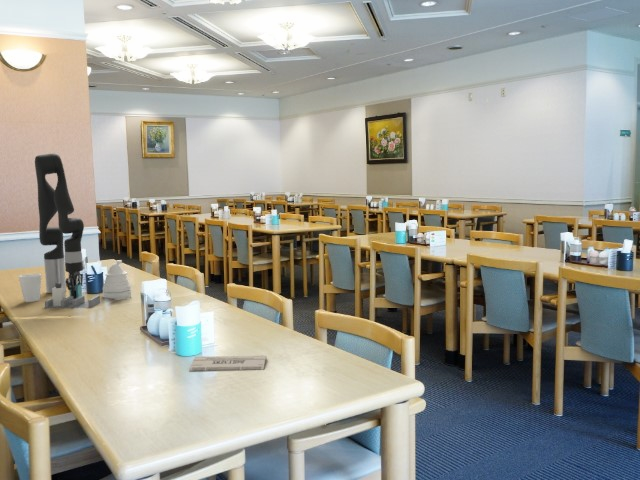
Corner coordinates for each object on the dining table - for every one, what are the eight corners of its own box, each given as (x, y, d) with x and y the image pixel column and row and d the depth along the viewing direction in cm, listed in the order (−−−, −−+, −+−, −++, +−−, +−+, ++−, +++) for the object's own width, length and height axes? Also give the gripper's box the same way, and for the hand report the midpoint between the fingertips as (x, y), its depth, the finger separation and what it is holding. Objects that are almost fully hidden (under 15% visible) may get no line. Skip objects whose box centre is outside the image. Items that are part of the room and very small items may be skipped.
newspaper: (266, 358, 181) (266, 351, 180) (264, 375, 169) (263, 367, 168) (194, 359, 180) (193, 352, 180) (186, 377, 168) (185, 369, 168)
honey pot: (135, 294, 284) (133, 258, 282) (124, 300, 271) (122, 262, 269) (110, 294, 285) (108, 258, 283) (98, 300, 272) (95, 262, 270)
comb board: (54, 304, 264) (53, 296, 263) (102, 303, 264) (102, 295, 264) (42, 310, 252) (41, 301, 251) (92, 309, 252) (92, 300, 252)
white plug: (57, 304, 260) (55, 282, 259) (66, 304, 260) (64, 282, 259) (53, 306, 256) (51, 284, 255) (62, 306, 256) (60, 283, 255)
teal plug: (73, 301, 271) (72, 280, 270) (82, 301, 271) (81, 280, 270) (70, 303, 267) (68, 281, 266) (79, 302, 267) (77, 281, 266)
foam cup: (36, 304, 265) (34, 276, 263) (16, 304, 265) (14, 277, 264) (46, 300, 274) (45, 273, 273) (27, 300, 274) (25, 273, 273)
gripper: (71, 259, 274) (74, 294, 276) (58, 263, 260) (61, 300, 261) (87, 258, 274) (89, 294, 276) (75, 263, 260) (78, 300, 262)
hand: (76, 297), depth 269 cm, fingers closed on teal plug, 4 cm apart
